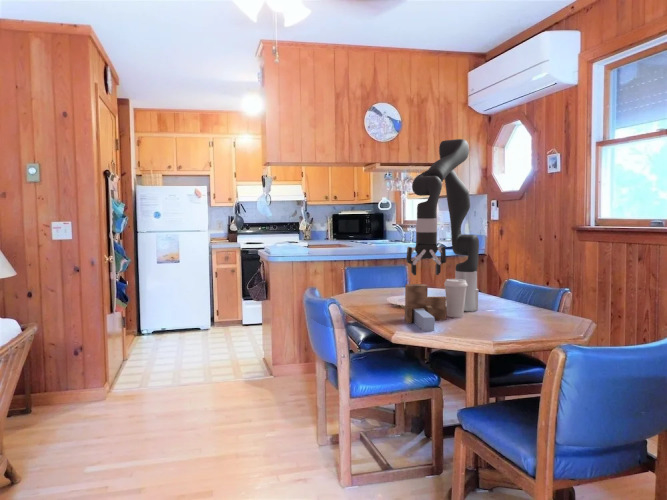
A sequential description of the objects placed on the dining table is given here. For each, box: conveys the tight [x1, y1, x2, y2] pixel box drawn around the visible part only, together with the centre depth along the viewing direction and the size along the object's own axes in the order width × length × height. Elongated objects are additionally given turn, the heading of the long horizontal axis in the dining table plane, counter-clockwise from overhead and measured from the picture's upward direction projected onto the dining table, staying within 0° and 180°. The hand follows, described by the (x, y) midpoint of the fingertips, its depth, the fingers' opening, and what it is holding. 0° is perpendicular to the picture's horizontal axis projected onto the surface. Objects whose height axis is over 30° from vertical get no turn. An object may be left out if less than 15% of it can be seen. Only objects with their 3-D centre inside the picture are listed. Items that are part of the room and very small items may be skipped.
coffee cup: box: [443, 278, 468, 319], centre depth 206 cm, size 10×10×15 cm
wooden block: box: [404, 283, 447, 324], centre depth 197 cm, size 17×8×14 cm, turn 95°
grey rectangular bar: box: [412, 308, 435, 332], centre depth 188 cm, size 16×4×5 cm, turn 5°
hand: (425, 274), depth 184 cm, fingers open, 8 cm apart
